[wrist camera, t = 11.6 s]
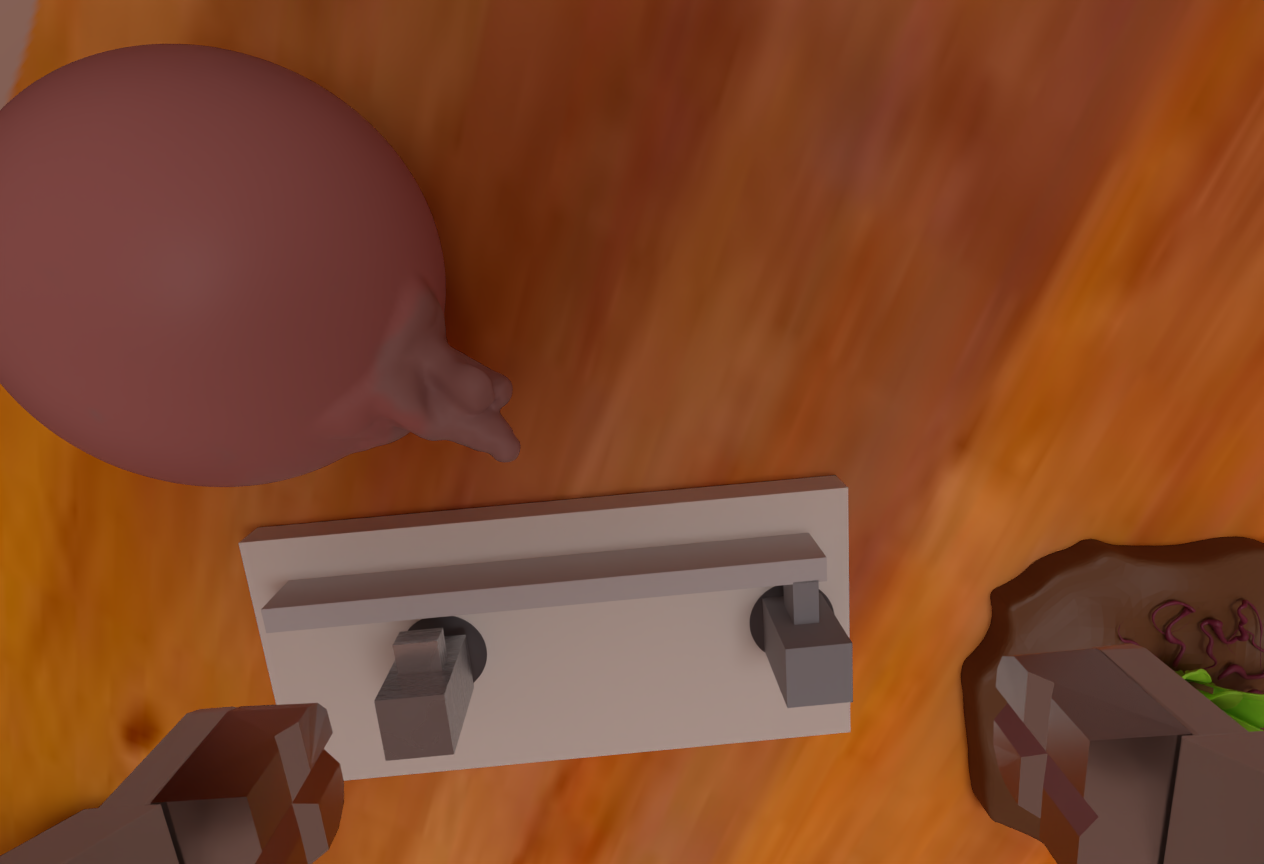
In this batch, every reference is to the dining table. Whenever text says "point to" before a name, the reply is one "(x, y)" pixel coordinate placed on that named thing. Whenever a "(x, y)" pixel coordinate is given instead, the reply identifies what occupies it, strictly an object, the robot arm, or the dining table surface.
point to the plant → (1123, 633)
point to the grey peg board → (573, 620)
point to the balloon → (222, 274)
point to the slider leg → (424, 695)
